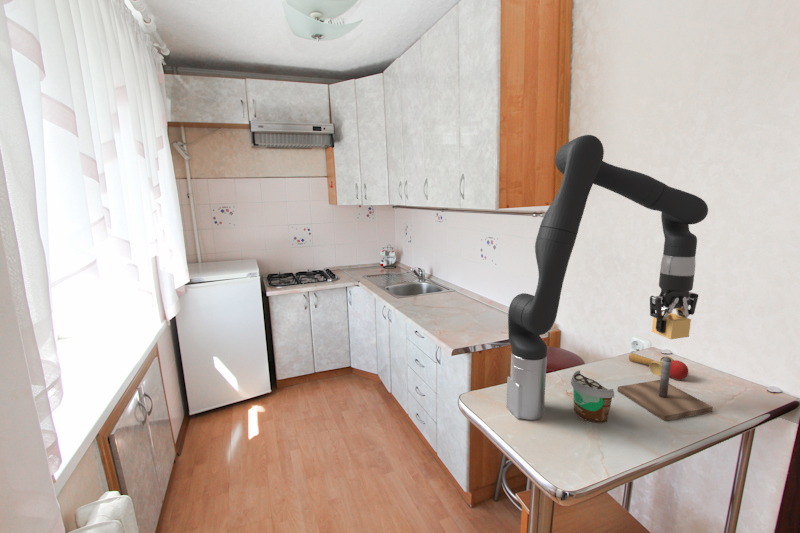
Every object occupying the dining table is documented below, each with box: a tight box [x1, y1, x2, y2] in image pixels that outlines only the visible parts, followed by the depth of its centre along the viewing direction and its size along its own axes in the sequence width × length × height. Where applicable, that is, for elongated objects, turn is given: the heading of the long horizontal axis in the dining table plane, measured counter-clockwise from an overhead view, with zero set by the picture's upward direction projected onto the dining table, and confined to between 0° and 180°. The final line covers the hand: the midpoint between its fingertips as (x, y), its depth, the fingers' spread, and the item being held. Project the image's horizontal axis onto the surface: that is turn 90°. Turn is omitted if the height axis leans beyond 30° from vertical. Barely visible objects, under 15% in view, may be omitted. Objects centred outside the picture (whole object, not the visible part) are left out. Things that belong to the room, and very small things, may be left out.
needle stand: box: [617, 356, 714, 422], centre depth 109 cm, size 16×16×14 cm
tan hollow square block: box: [651, 312, 692, 340], centre depth 106 cm, size 6×6×5 cm
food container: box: [570, 370, 615, 424], centre depth 104 cm, size 12×6×10 cm, turn 19°
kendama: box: [628, 352, 689, 380], centre depth 128 cm, size 8×6×18 cm
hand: (670, 330), depth 106 cm, fingers closed on tan hollow square block, 6 cm apart
